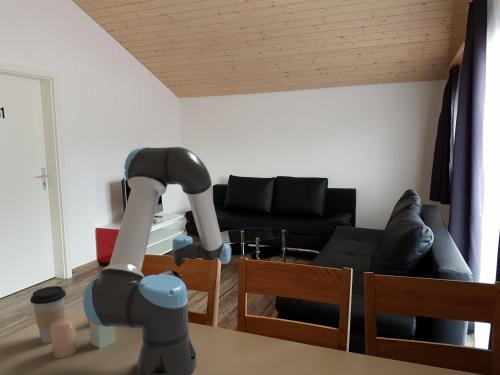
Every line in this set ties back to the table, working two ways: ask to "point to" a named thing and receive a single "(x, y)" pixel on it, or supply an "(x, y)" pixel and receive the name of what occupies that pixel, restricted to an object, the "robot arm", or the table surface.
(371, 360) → the table surface
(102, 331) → the sage tin
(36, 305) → the coffee cup
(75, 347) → the peach rounded cylinder
